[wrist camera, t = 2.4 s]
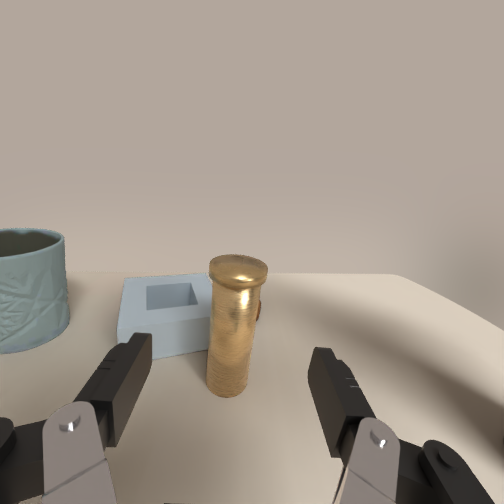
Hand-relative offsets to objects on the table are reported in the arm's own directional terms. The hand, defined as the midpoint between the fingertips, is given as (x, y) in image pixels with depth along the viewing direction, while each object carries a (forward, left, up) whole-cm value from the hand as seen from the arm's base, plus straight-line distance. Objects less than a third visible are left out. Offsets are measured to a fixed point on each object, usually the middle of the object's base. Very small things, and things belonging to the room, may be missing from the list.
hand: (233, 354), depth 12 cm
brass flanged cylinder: (-4, -11, -14) cm, 18 cm away
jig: (+1, -22, -14) cm, 26 cm away
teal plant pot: (+18, -25, -14) cm, 34 cm away
